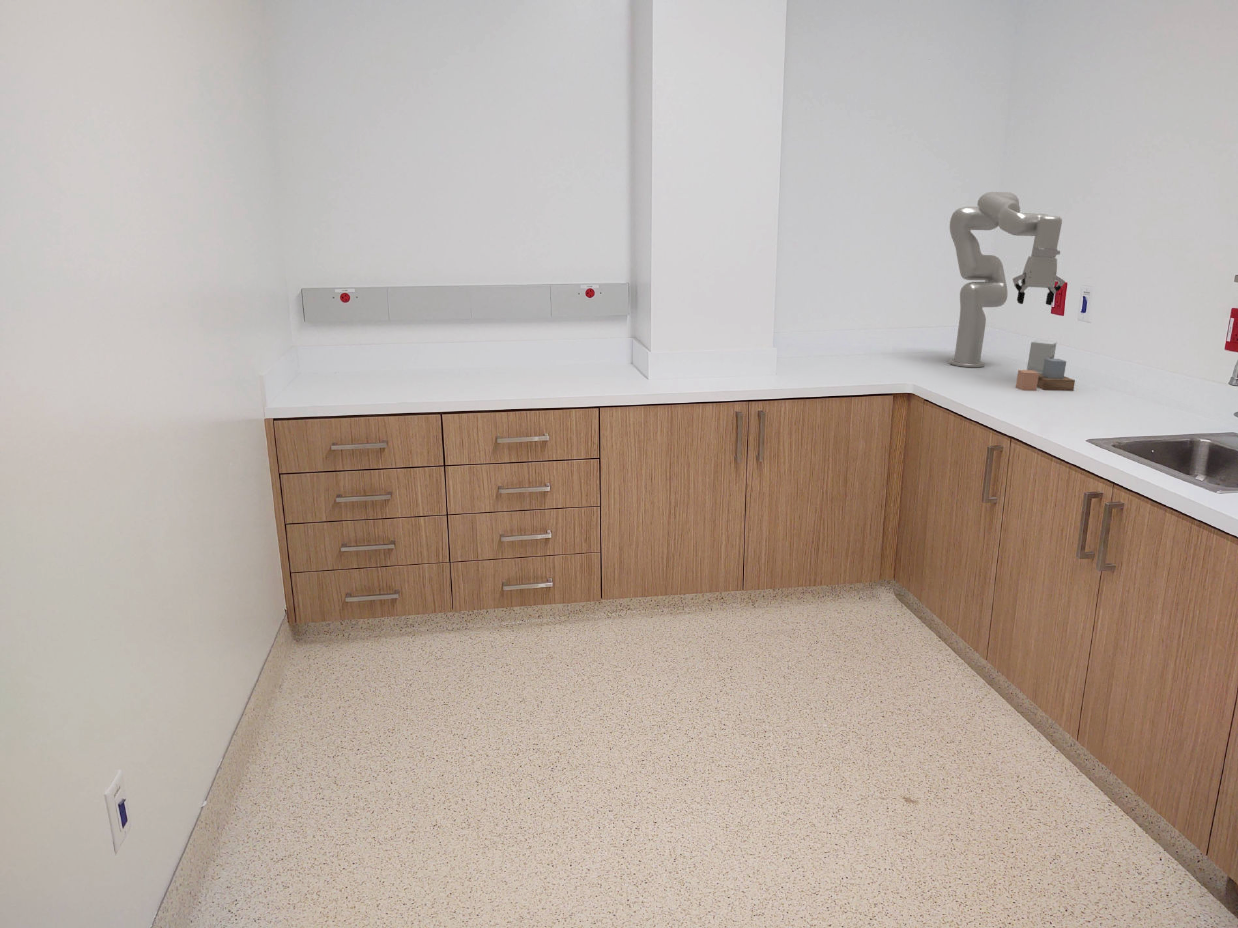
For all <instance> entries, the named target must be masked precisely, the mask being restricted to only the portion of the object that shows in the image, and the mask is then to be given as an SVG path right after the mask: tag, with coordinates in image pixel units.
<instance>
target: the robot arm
mask: <svg viewBox="0 0 1238 928" xmlns="http://www.w3.org/2000/svg"><path fill="white" fill-rule="evenodd" d="M1062 224H1063V219H1062V217H1060V216H1057V215H1050V214H1045V213H1035V212H1034V213H1032V212H1029V213H1028V212H1021V206H1020V201H1019V198H1018V196H1017V195H1016V194H1015V193H1012V192H1008V191H1007V192H1006V191H1005V192H1004V191H1003V192H1002V191H990V192H985V193H984V194H982V195H981V196H980V197H979V198H978V200H977V205H976V206H962V207H959V208H958V209H955V211H954V212H953V213H952V215H951V218H950V220H949V232H950V236H951V239H952V243H953V244H954V248H955V254H956V257H957V263H958V270H959V274H960V276H961V278H962V279H963V280H966V281H971V282H967V283H965V284H963V286H962V287H961V289H960V291H959V303H960V308H959V310H960V311H959V320H958V329H957V335H956V336H957V337H956V342H955V343H956V344H955V351H954V359H950V360H949V364H950V365H952V366H956V367H963V368H983V367H985V362H983V361H982V360H981V359H982V351H983V345H984V338H985V330H986V325H987V323H986V322H987V318H986V314H985V312H984V309H983V308H998V307H1002V306H1003V305H1005V304H1006V302H1007V300H1008V286H1007V282H1006V275H1005V269H1004V265H1003V262H1002V261H1001V259H1000V258H999V257H998V256H996V255H993V254H982V251H981V248H980V242H979V239H978V238H977V237H976V236H975V235H974V234H973V233H972V232H971V231H992V230H994V229H996V228H998V227H999V228H1000V230H1002V231H1003V232H1006V233H1008V234H1010V235H1012V236H1015V237H1016V236H1021V237H1024V236H1025V237H1034V239H1033V245H1032V249H1031V256H1028V257H1027V259H1026V262H1025V265H1024V268H1023V271H1022V274H1019V275H1017V276H1015V277H1013V278H1012V282H1013V284H1014V285H1013V286H1014V287H1015V289H1016V290H1017V298H1016V301H1017V303H1018V304H1019V305H1023V304H1024V302H1025V301H1024V300H1025V295H1026V293H1025V290H1027V289H1028V288H1041V289H1042V288H1043V289H1047V290H1048V292H1047V294H1046V299H1045V304H1046V305H1047V306H1052V304H1053V302H1054V298H1055V294H1056V293H1057V292H1058V291H1060V290H1061V288H1062V287H1063V285H1064V284H1065V282H1066V281H1065V280H1064V279H1063V278H1061V277H1059V276H1058V275H1057V269H1058V258H1056V257H1057V256H1058V255H1061V250H1059V249H1058V246H1059V245H1058V244H1059V239H1060V234H1061V229H1062ZM1019 281H1020V282H1019ZM1056 282H1058V283H1057V285H1055V284H1056ZM1019 283H1020V284H1021V285H1020V284H1019Z"/></svg>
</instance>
